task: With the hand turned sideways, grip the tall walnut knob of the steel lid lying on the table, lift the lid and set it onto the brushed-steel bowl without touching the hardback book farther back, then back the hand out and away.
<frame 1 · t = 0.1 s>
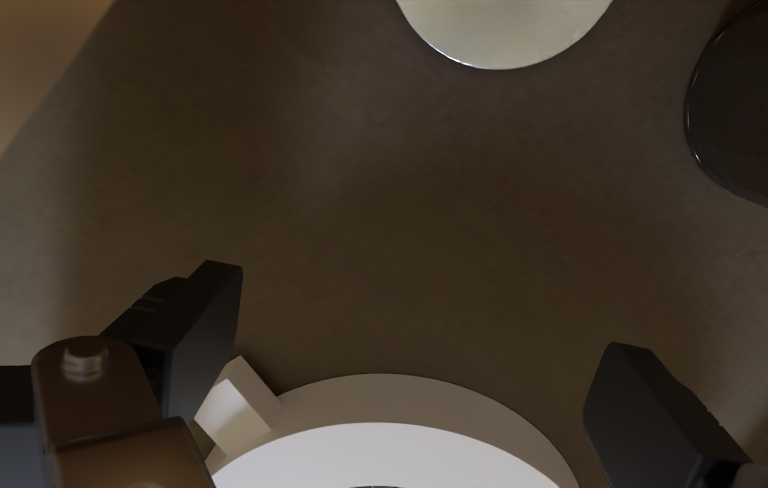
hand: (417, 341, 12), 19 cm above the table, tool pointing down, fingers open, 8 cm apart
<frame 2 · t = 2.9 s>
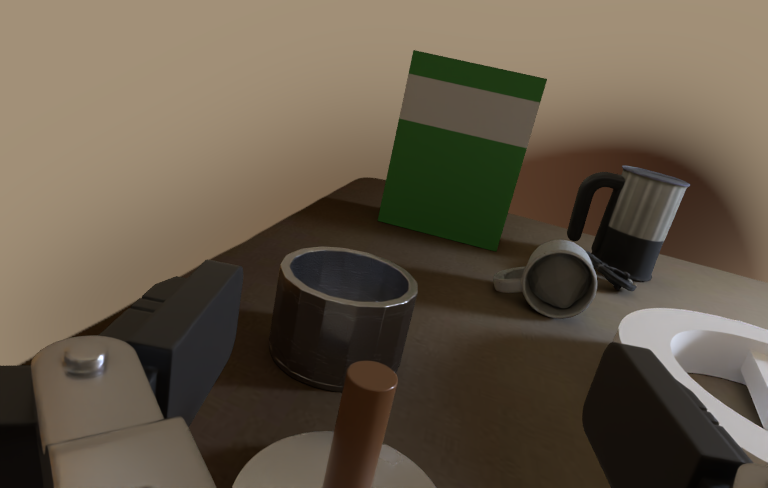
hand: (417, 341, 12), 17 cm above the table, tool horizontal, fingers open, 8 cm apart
hardback book: (438, 230, 81), on the table
milk frother: (614, 276, 78), on the table
bowl: (334, 352, 43), on the table
ceramic mug: (536, 303, 62), on the table
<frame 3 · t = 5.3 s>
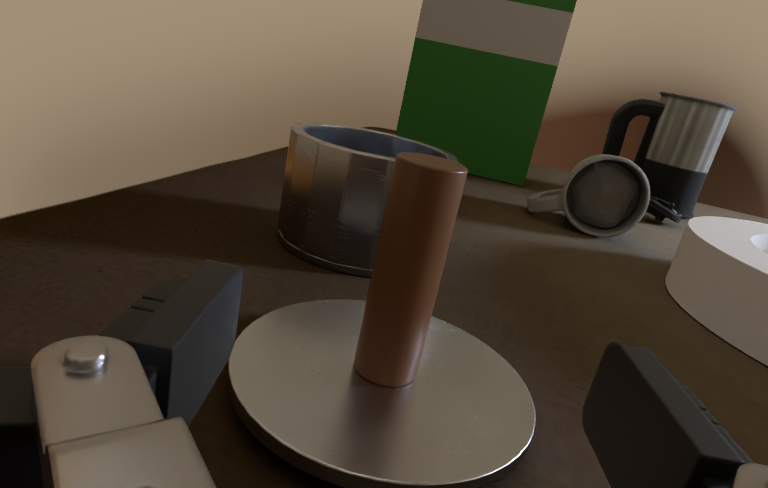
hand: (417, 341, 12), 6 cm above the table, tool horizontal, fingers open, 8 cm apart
hardback book: (457, 167, 74), on the table
milk frother: (652, 213, 71), on the table
bowl: (356, 245, 36), on the table
bowl lid: (381, 381, 20), point 1 cm above the table
ceramic mug: (576, 226, 55), on the table
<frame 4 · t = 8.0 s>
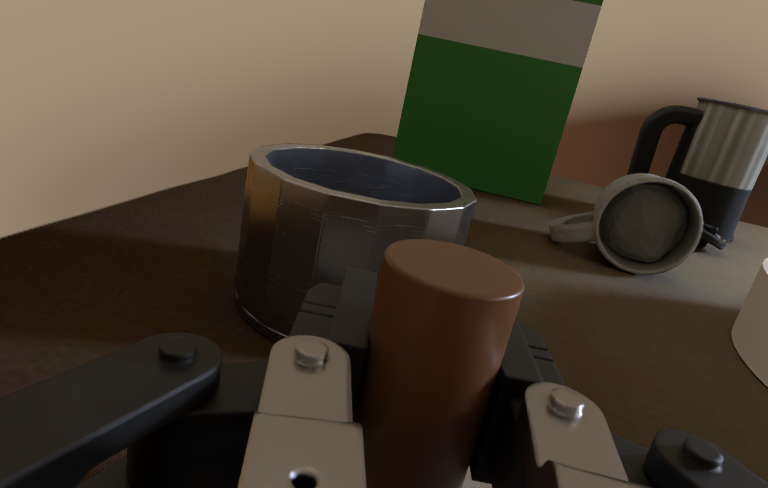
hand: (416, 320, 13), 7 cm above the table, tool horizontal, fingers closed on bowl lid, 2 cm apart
hardback book: (465, 182, 66), on the table
milk frother: (688, 236, 62), on the table
bowl: (340, 305, 27), on the table
ceramic mug: (608, 258, 46), on the table
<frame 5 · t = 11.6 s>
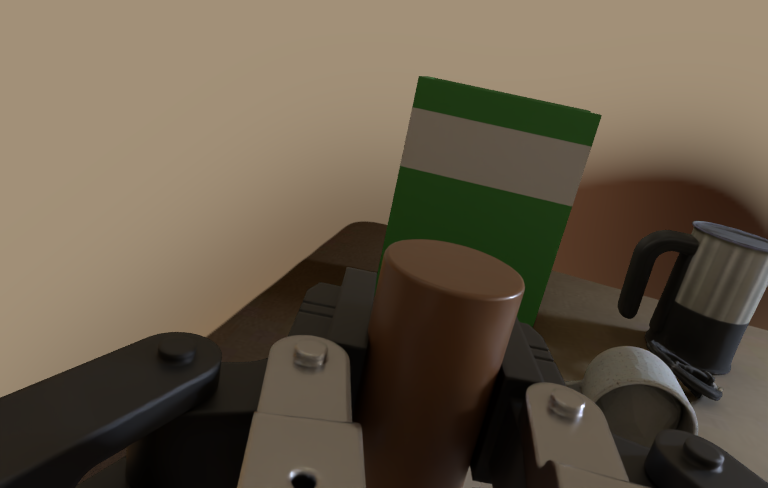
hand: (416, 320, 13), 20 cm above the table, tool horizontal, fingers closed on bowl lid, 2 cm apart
hardback book: (451, 304, 63), on the table
milk frother: (683, 368, 59), on the table
ceramic mug: (598, 439, 44), on the table
when the fingers open (13 cm above the table, at t = 15.2 s): bowl lid stays where it is, resting on bowl.
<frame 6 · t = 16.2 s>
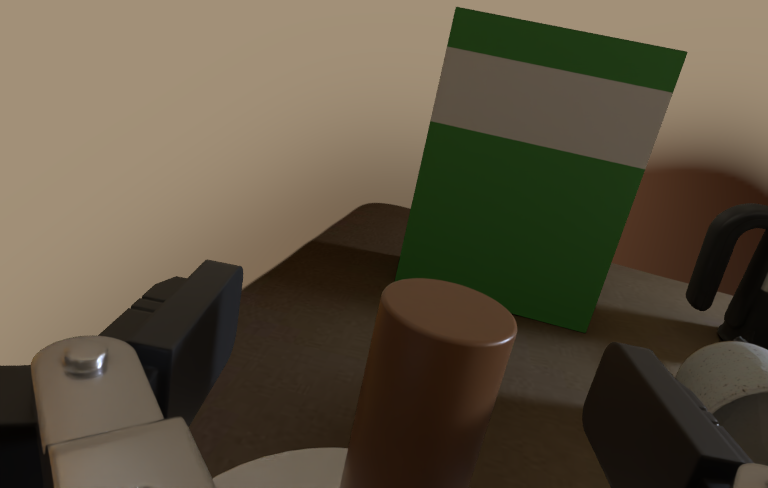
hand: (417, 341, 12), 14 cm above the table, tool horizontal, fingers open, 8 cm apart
hardback book: (488, 293, 53), on the table
ceramic mug: (700, 463, 33), on the table
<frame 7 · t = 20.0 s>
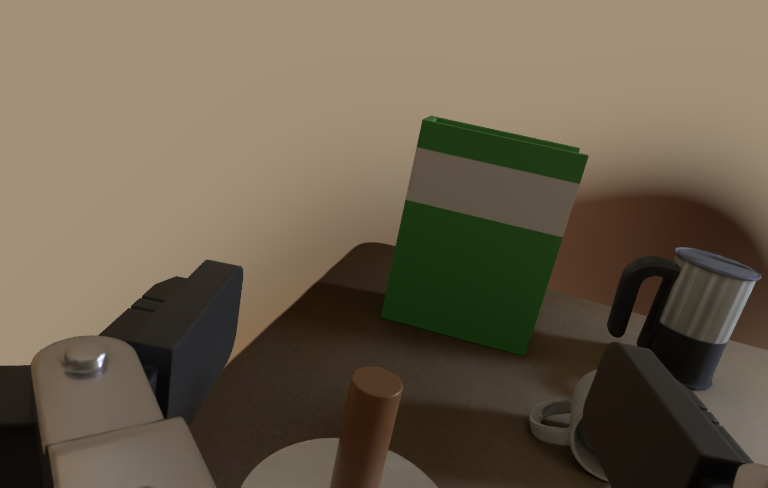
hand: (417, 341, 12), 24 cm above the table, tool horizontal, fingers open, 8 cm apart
hardback book: (453, 324, 68), on the table
milk frother: (667, 383, 64), on the table
ceramic mug: (585, 451, 49), on the table
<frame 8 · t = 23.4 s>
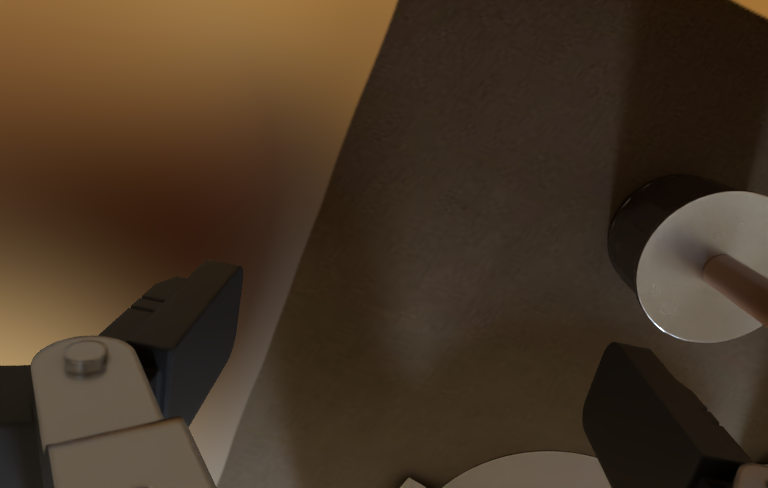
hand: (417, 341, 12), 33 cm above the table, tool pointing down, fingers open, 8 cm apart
bowl: (671, 235, 45), on the table
bowl lid: (715, 267, 38), point 7 cm above the table, touching bowl
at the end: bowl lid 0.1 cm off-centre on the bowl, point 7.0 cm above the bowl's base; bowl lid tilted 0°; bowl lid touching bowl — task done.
